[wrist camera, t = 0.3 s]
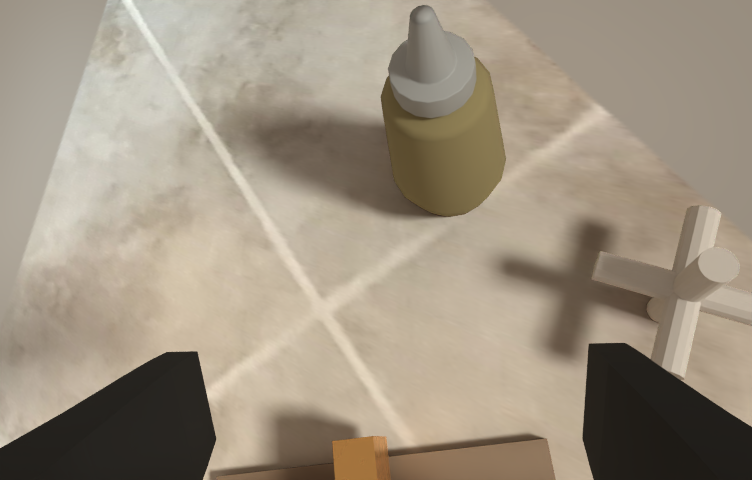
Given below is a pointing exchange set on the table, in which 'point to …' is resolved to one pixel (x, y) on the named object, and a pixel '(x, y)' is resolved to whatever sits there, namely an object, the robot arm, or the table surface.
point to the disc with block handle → (361, 459)
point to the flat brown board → (442, 465)
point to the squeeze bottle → (441, 120)
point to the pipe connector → (683, 287)
